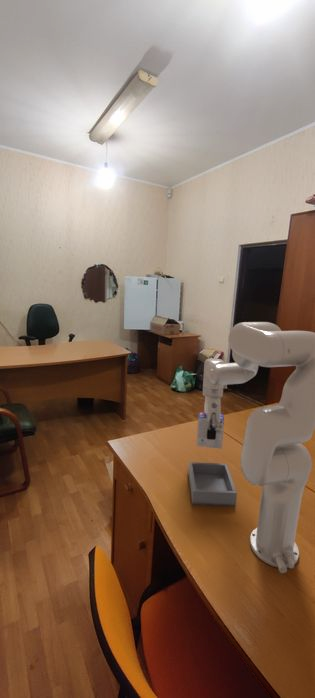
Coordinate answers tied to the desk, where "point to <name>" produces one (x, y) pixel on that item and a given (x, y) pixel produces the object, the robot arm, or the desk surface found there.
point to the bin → (211, 484)
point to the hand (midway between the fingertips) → (209, 434)
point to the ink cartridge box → (202, 432)
